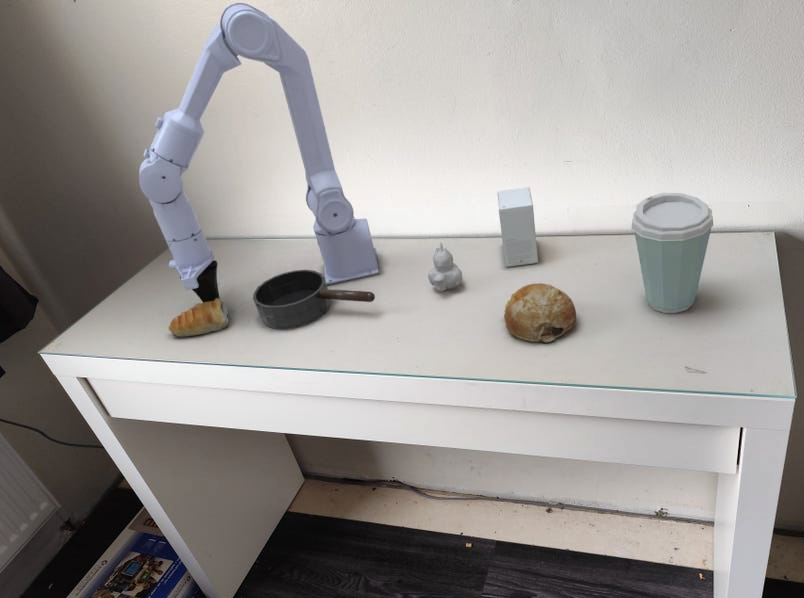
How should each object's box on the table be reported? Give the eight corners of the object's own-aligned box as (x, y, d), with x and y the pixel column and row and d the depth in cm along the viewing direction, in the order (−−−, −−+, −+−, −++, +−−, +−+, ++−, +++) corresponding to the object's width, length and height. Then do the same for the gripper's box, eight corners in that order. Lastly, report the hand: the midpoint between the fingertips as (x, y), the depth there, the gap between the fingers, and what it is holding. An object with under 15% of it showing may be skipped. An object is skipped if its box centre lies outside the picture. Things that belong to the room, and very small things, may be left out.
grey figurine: (468, 278, 111) (461, 235, 107) (456, 299, 106) (449, 255, 102) (437, 278, 113) (429, 235, 108) (425, 298, 108) (416, 254, 103)
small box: (538, 264, 112) (533, 205, 106) (505, 268, 112) (498, 209, 106) (535, 242, 118) (530, 185, 112) (503, 246, 119) (497, 190, 113)
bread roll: (523, 367, 96) (532, 336, 89) (488, 314, 100) (494, 280, 93) (580, 341, 98) (593, 310, 92) (544, 291, 103) (553, 257, 96)
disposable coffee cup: (724, 303, 95) (734, 204, 86) (667, 332, 91) (672, 232, 83) (669, 276, 103) (673, 183, 94) (615, 302, 99) (614, 208, 90)
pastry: (172, 345, 107) (163, 325, 105) (172, 326, 113) (163, 306, 111) (231, 327, 109) (223, 307, 107) (228, 309, 115) (220, 290, 113)
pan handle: (317, 300, 107) (315, 292, 106) (322, 295, 108) (320, 286, 107) (373, 304, 104) (371, 295, 103) (377, 298, 105) (375, 290, 104)
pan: (330, 285, 116) (324, 264, 114) (332, 319, 107) (325, 297, 104) (263, 299, 116) (255, 278, 113) (258, 336, 106) (250, 313, 104)
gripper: (166, 220, 112) (196, 290, 120) (149, 258, 100) (183, 333, 108) (208, 212, 112) (235, 282, 120) (196, 248, 101) (227, 323, 108)
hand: (214, 306), depth 114 cm, fingers closed
